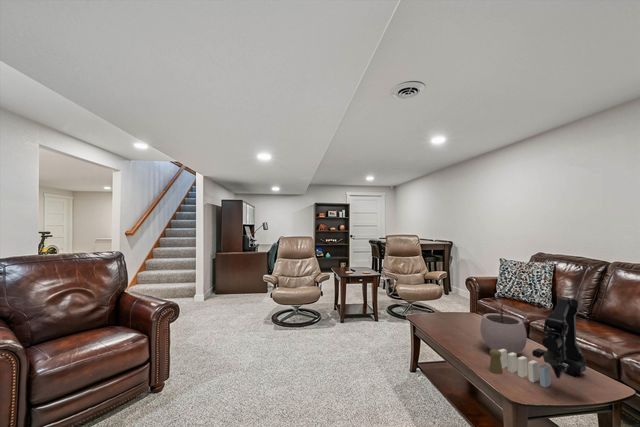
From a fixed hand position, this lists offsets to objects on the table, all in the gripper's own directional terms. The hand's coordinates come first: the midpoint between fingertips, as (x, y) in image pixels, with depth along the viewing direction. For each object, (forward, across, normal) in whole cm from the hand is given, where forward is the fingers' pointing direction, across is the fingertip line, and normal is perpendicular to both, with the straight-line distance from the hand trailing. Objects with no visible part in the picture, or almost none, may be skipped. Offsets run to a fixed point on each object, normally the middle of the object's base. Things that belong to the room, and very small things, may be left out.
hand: (558, 378), depth 130 cm
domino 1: (+6, -25, 0) cm, 26 cm away
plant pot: (+6, -35, +18) cm, 40 cm away
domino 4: (+6, -10, 0) cm, 12 cm away
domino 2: (+6, -20, 0) cm, 21 cm away
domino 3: (+6, -15, 0) cm, 17 cm away
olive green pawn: (+6, -24, -8) cm, 27 cm away
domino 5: (+6, -5, 0) cm, 8 cm away
